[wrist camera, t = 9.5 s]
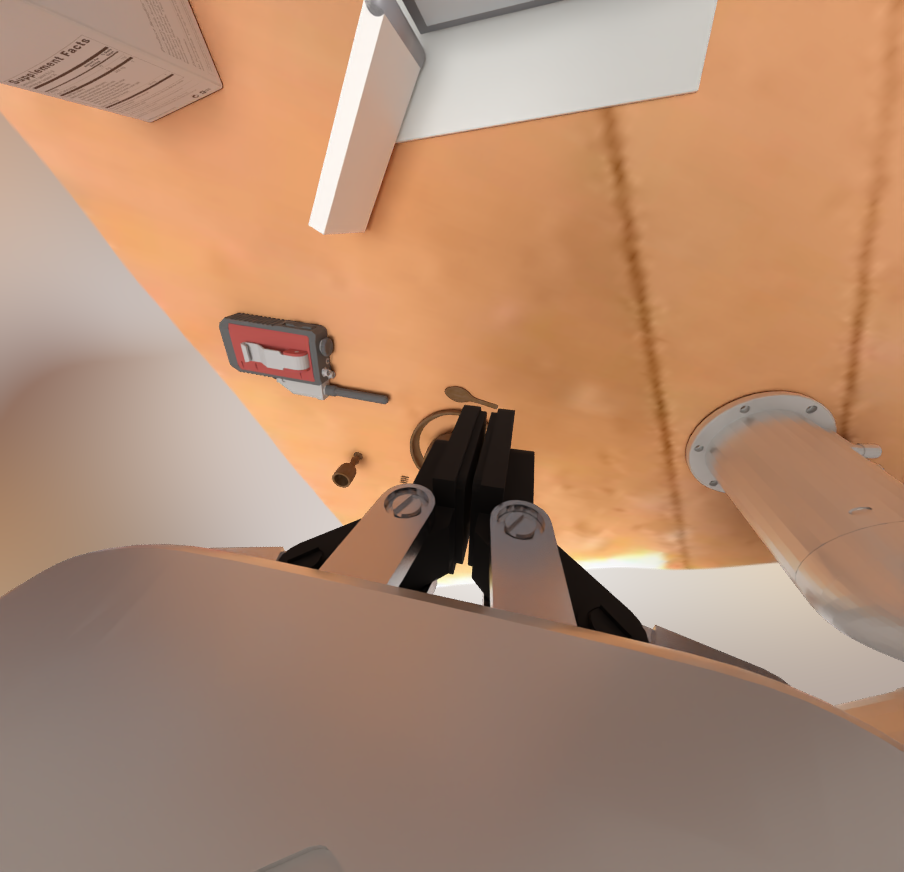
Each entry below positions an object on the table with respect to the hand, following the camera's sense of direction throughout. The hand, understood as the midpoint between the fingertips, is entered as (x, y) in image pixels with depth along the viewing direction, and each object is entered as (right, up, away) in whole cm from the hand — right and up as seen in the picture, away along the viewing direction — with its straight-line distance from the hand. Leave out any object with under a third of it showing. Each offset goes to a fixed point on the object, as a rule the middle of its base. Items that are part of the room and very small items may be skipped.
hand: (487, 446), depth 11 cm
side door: (-7, +24, +16) cm, 29 cm away
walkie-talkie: (-18, +10, +29) cm, 36 cm away
